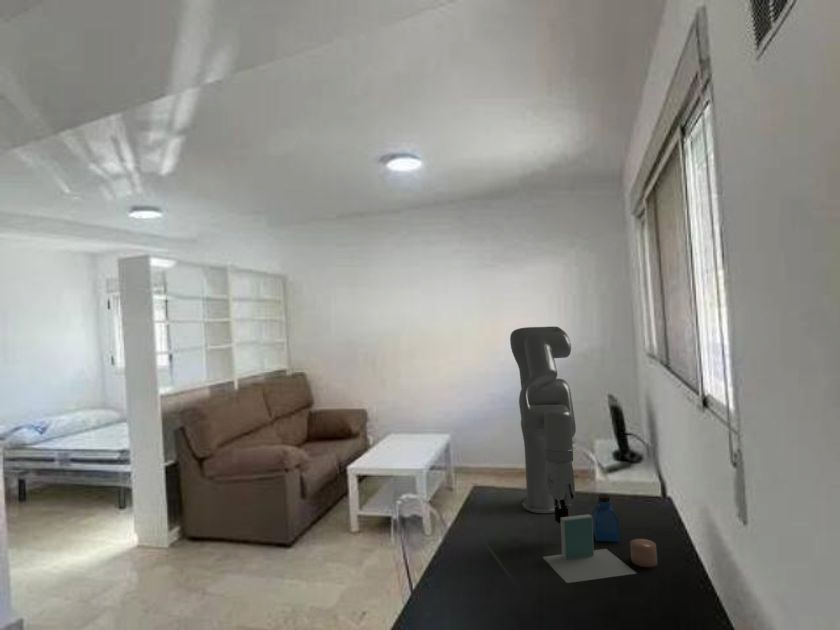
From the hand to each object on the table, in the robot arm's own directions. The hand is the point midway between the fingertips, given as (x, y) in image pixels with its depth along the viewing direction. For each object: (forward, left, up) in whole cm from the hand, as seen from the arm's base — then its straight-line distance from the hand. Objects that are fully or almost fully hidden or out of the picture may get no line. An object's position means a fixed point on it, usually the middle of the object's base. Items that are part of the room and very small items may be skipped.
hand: (561, 521), depth 144 cm
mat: (+14, 0, -6) cm, 15 cm away
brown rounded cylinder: (+16, +14, -6) cm, 22 cm away
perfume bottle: (0, +13, -7) cm, 15 cm away
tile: (+9, 0, -6) cm, 11 cm away
